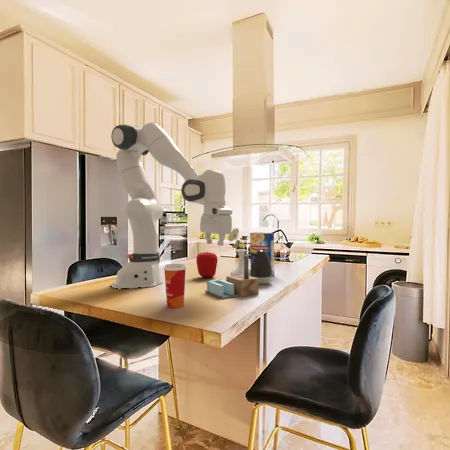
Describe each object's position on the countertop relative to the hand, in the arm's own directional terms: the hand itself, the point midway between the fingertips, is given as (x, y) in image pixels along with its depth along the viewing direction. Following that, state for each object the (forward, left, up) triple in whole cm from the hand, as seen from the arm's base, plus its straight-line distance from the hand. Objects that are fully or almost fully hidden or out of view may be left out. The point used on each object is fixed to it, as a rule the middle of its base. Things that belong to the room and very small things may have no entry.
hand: (214, 244), depth 127 cm
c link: (0, -5, -19) cm, 19 cm away
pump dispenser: (+25, +3, -19) cm, 32 cm away
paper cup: (-22, -11, -19) cm, 31 cm away
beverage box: (+38, +19, -19) cm, 47 cm away
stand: (+8, -7, -19) cm, 22 cm away
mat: (0, -5, -19) cm, 20 cm away
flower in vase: (+25, +20, -19) cm, 38 cm away
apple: (+11, +29, -19) cm, 37 cm away
